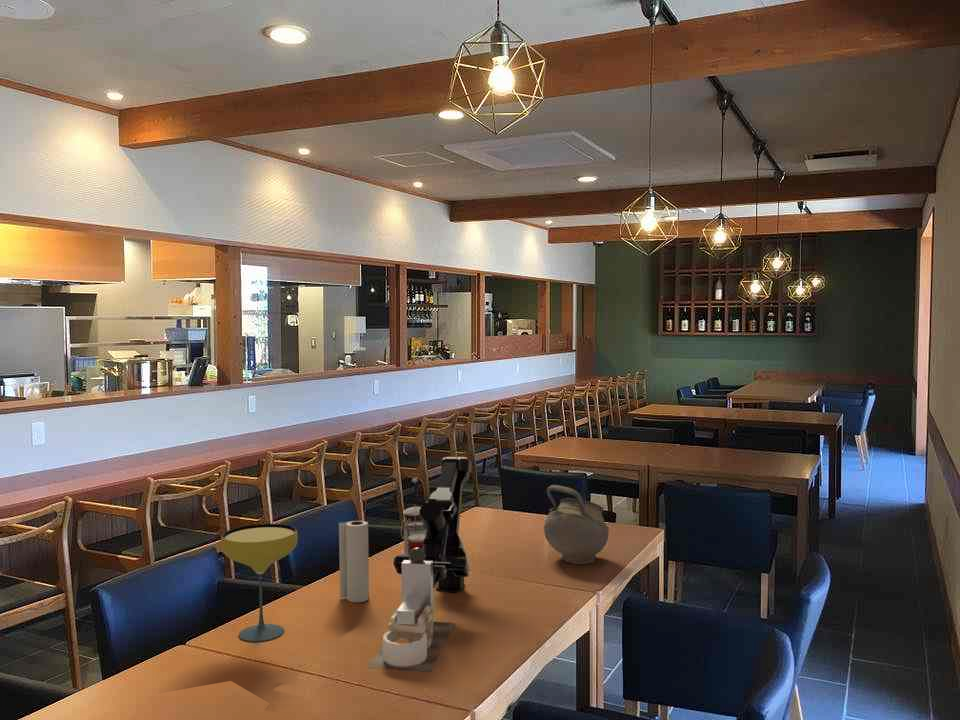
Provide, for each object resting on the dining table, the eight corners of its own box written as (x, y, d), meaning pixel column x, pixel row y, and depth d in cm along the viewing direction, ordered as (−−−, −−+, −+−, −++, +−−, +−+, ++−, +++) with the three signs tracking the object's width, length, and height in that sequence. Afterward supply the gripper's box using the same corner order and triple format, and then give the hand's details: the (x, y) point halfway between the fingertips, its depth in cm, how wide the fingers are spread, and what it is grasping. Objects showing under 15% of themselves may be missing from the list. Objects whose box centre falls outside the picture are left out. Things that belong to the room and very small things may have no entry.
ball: (395, 637, 176) (394, 656, 175) (391, 638, 172) (391, 657, 171) (412, 637, 176) (412, 656, 175) (409, 638, 172) (409, 657, 171)
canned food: (404, 574, 238) (403, 538, 238) (415, 567, 245) (415, 532, 245) (426, 577, 235) (426, 541, 235) (438, 569, 242) (437, 534, 242)
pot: (564, 573, 238) (563, 491, 237) (532, 555, 256) (532, 479, 255) (621, 564, 246) (621, 485, 245) (587, 548, 265) (586, 474, 264)
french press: (436, 551, 263) (435, 476, 262) (415, 559, 253) (414, 482, 252) (412, 546, 268) (411, 474, 267) (391, 555, 258) (390, 479, 257)
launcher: (400, 624, 197) (400, 586, 197) (455, 627, 195) (454, 589, 195) (366, 673, 170) (366, 629, 169) (429, 677, 168) (429, 632, 167)
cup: (375, 662, 172) (374, 640, 172) (397, 646, 181) (397, 625, 181) (413, 670, 168) (413, 647, 168) (434, 653, 177) (434, 631, 177)
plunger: (406, 631, 189) (404, 544, 188) (434, 633, 188) (433, 545, 187) (390, 654, 176) (389, 560, 175) (421, 656, 175) (420, 562, 174)
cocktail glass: (219, 626, 197) (217, 528, 196) (292, 615, 205) (290, 520, 204) (226, 653, 181) (224, 546, 180) (305, 640, 188) (303, 537, 187)
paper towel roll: (373, 599, 217) (372, 522, 216) (356, 604, 212) (355, 526, 211) (357, 593, 221) (356, 518, 221) (340, 598, 217) (338, 522, 216)
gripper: (474, 556, 210) (467, 612, 199) (406, 554, 213) (396, 609, 202) (468, 536, 201) (461, 593, 191) (398, 533, 204) (387, 590, 194)
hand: (426, 597), depth 195 cm, fingers closed
